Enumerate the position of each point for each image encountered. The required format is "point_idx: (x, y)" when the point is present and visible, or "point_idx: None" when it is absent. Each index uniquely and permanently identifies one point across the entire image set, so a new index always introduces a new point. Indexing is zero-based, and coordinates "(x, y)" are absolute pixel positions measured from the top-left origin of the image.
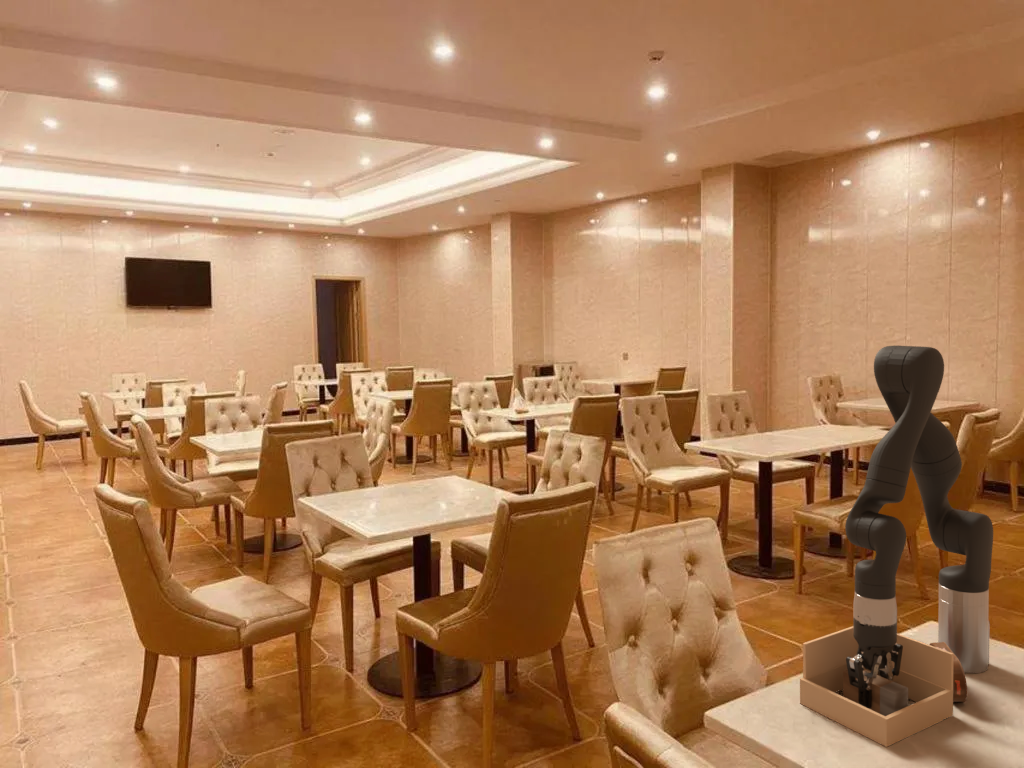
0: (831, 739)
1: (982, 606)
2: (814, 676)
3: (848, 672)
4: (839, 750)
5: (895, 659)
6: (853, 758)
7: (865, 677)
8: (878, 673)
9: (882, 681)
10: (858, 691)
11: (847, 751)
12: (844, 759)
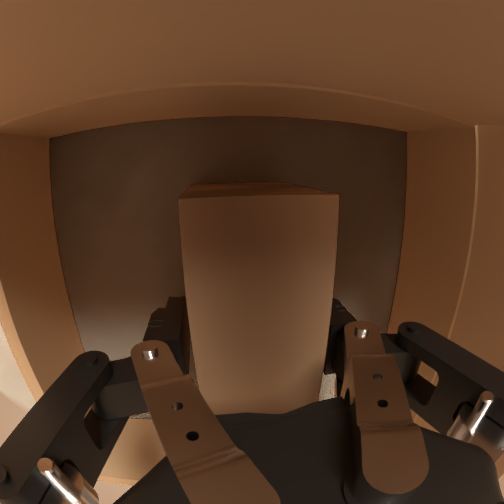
0: (3, 338)
1: None
2: (36, 113)
3: (34, 410)
4: (3, 372)
5: (436, 417)
6: (18, 401)
7: (235, 344)
8: (344, 342)
9: (274, 404)
10: (143, 339)
11: (16, 384)
12: (2, 392)
